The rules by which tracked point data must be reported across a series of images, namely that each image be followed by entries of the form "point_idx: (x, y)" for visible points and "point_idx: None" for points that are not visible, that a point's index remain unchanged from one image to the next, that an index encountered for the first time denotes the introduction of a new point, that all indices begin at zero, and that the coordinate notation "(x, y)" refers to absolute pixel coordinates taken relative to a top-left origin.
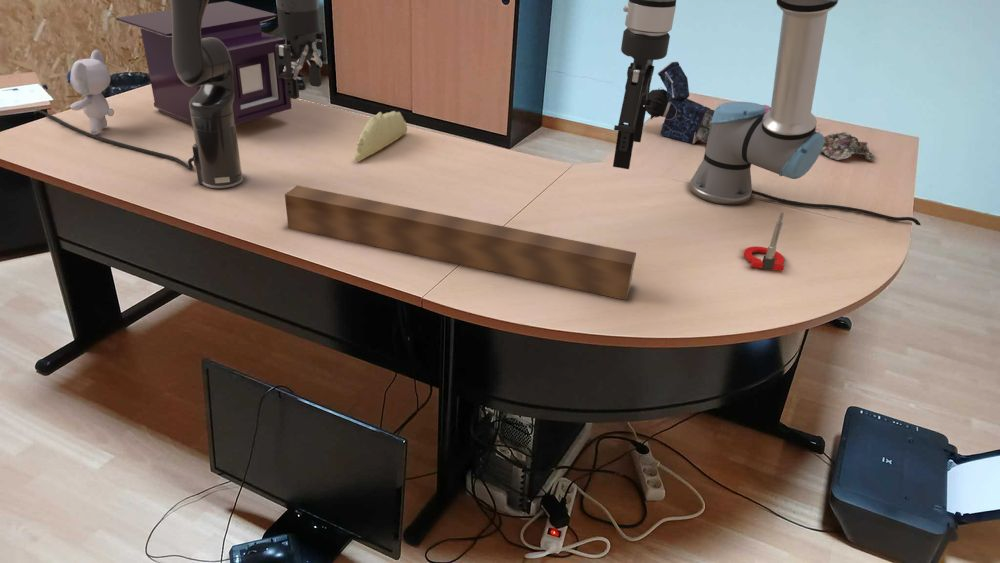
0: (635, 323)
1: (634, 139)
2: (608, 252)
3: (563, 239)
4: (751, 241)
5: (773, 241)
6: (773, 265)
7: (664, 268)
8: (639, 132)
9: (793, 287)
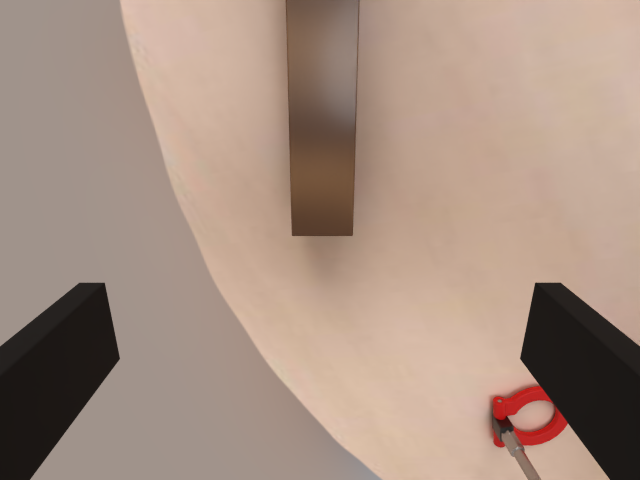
0: (229, 236)
1: (531, 336)
2: (327, 174)
3: (350, 42)
4: None
5: (520, 462)
6: (495, 433)
7: (446, 260)
8: (553, 387)
9: (448, 449)
